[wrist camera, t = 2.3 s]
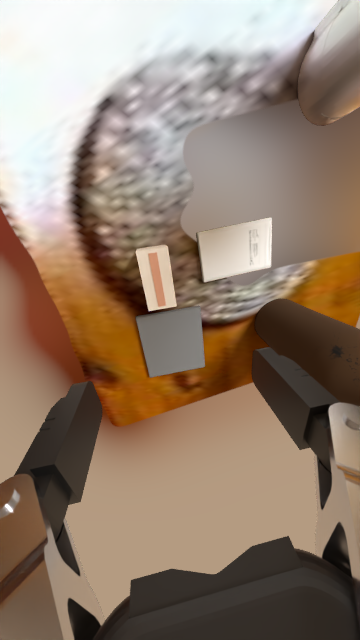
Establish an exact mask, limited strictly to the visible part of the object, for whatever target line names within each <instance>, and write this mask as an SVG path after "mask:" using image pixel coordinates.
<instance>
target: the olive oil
mask: <svg viewBox="0 0 360 640" xmlns="http://www.w3.org/2000/svg"><path fill="white" fill-rule="evenodd" d="M255 330H256V332H257V334H258V335H259V336H260V337H261V338H262V339H263V340H264V341H265V342H266V343H267V344H268V345H269V346H270V347H271V348H272V349H273V350H274V351H275V352H276V353H277V354H278V355H279V356H281V355H283V356H285V357H287V358H289V359H291V360H293V361H294V362H296V363H297V364H298V365H299V366H300V367H301V368H302V370H305V371H306V372H307V373H308V374H309V376H311V377H313V378H314V379H315V380H316V381H317V382H318V383H319V384H320V385H322V386H323V387H324V388H325V389H326V390H327V391H328V392H329V393H331V394H332V395H333V396H334V397H335V398H336V399H337V400H338V401H340V402H341V403H349V404H353V405H356V406H358V407H360V329H358V328H355V327H353V326H350V325H348V324H345V323H343V322H340V321H338V320H335V319H333V318H330V317H328V316H325V315H323V314H320V313H318V312H316V311H313V310H311V309H308V308H306V307H304V306H301V305H299V304H297V303H295V302H292V301H290V300H287V299H276V300H273V301H271V302H269V303H267V304H266V305H265V306H264V307H263V308H262V309H261V310H260V311H259V313H258V314H257V316H256V319H255Z"/></svg>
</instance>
